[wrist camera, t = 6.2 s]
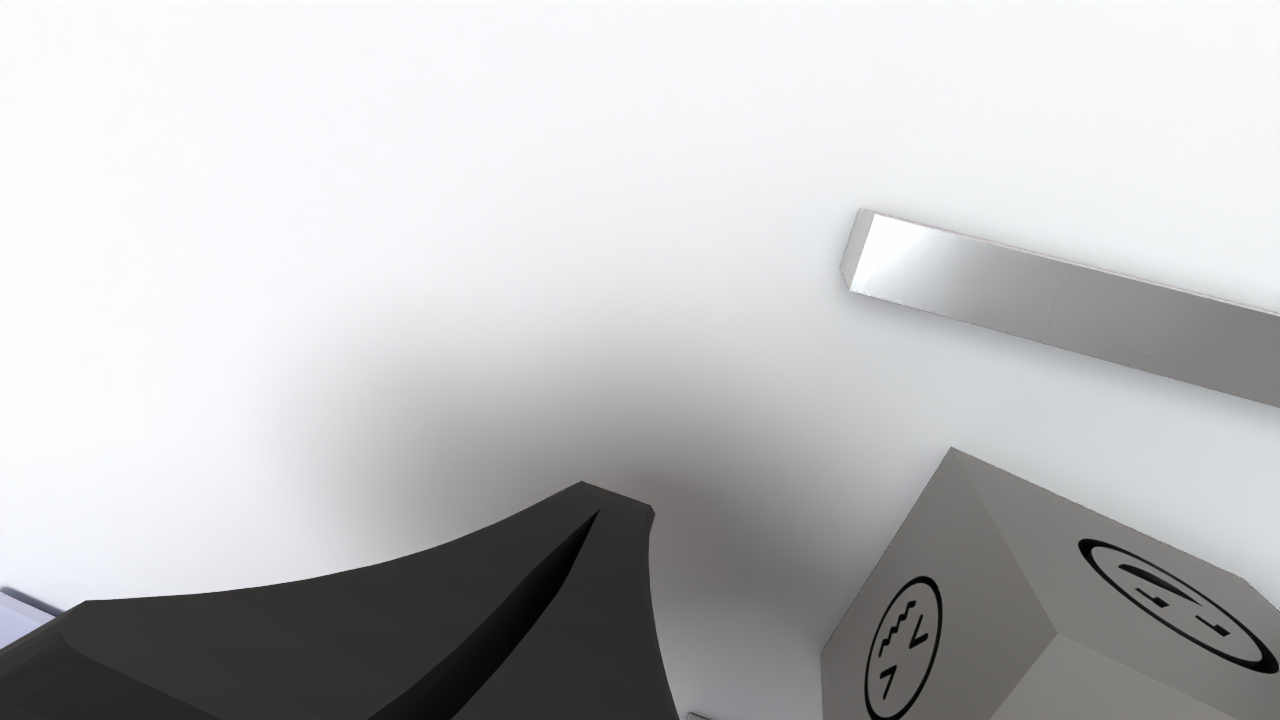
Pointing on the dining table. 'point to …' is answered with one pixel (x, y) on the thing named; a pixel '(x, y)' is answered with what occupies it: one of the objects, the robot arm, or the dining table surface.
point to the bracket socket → (1067, 306)
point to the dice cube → (1044, 618)
